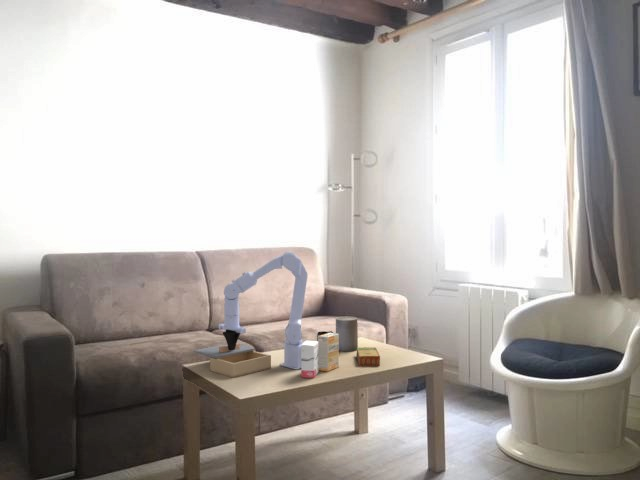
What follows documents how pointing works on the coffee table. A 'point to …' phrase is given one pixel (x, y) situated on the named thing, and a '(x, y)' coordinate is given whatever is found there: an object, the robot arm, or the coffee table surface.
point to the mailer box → (240, 364)
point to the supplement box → (328, 351)
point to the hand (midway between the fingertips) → (231, 349)
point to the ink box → (309, 359)
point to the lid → (223, 350)
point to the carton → (368, 357)
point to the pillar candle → (347, 333)
